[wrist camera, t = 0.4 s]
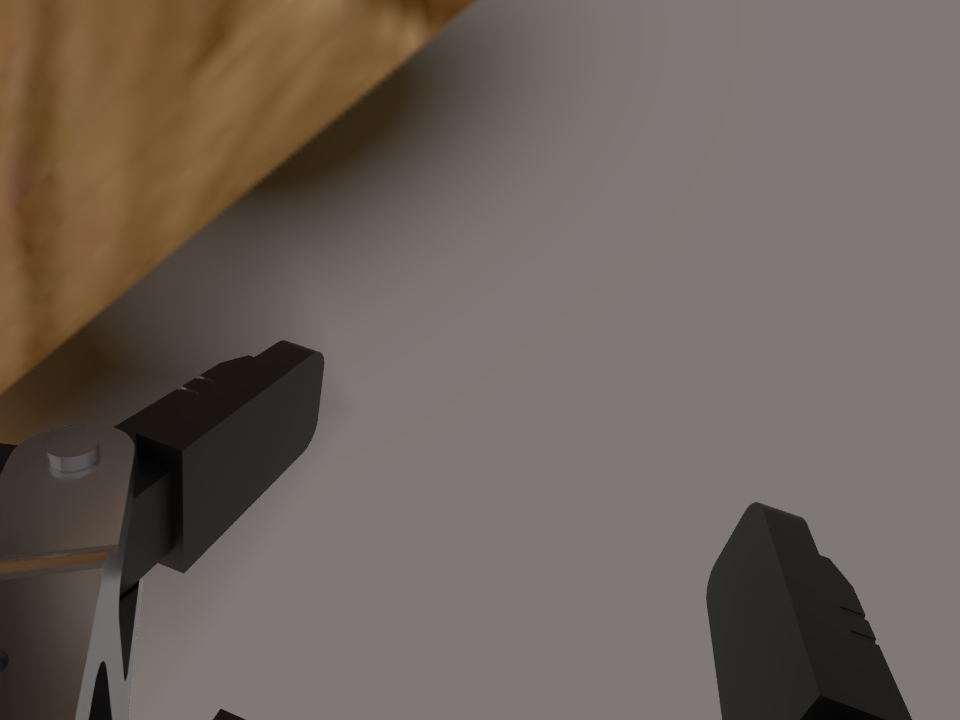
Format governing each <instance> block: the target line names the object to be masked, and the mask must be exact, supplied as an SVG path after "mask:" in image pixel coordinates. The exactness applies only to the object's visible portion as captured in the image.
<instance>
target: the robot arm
mask: <svg viewBox="0 0 960 720" xmlns="http://www.w3.org/2000/svg"><path fill="white" fill-rule="evenodd" d="M323 369H324V357H323V355H322V354H321V353H320V352H317V351H315V350H311V349H309V348H306V347H303V346H300V345H297V344H294V343H291V342H288V341H285V340H283V341H280V342H278V343H276V344H275V345H273V346H271V347H270V348H268V349H267V350H265V351H264V352H262V353H261V354H259V355H257V356H256V357H252V356H249V355H248V356H245V357H241V358H237V359H234V360H229V361H226V362H222V363H219V364H218V365H216V366H214V367H213V368H211V369H209V370H208V371H206V372H205V373H203V374H201V375H200V376H199V378H198V379H196V378H195V379H193V380H191V381H190V382H188V383H186V384H185V385H183V386H182V387H181V389H180V390H178V389H176V390H175V391H173V392H171V393H170V394H168V395H166V396H165V397H163V398H161V399H160V400H158V401H156V402H155V403H153V404H151V405H150V406H148V407H146V408H145V409H143V410H141V411H140V412H138V413H136V414H135V415H133V416H131V417H130V418H128V419H126V420H125V421H123V422H121V423H120V424H118V425H116V426H115V427H111V426H106V425H100V424H73V425H67V426H61V427H57V428H52V429H49V430H46V431H43V432H40V433H38V434H36V435H34V436H32V437H30V438H28V439H26V440H25V441H23V442H22V443H21V444H19V445H11V444H2V443H0V720H129V703H130V692H131V684H132V675H133V667H134V658H135V650H136V641H137V633H138V624H139V615H140V607H141V598H142V589H143V584H142V577H143V576H144V575H145V574H146V573H147V572H148V571H149V570H150V569H151V568H152V567H153V566H154V565H156V564H157V563H160V564H162V565H165V566H167V567H169V568H172V569H174V570H177V571H179V572H181V573H185V571H187V570H188V569H189V568H190V567H191V566H192V565H193V564H194V563H195V562H196V561H197V559H199V558H200V557H201V555H202V554H204V553H205V551H206V550H207V549H208V548H209V547H210V546H211V545H212V544H213V543H214V542H215V541H216V540H217V539H218V538H219V537H220V536H221V535H222V534H223V533H224V532H225V531H226V530H227V529H228V528H229V527H230V526H231V525H232V524H233V523H234V522H235V521H236V520H237V519H238V518H239V517H240V516H241V515H242V514H243V513H244V512H245V511H246V510H247V509H248V508H249V507H250V506H251V505H252V504H253V503H254V502H255V501H256V500H257V498H259V497H260V496H261V495H262V494H263V493H264V491H266V490H267V489H268V488H269V486H271V485H272V483H273V482H275V481H276V479H278V477H279V476H280V475H281V474H282V473H283V472H284V471H285V470H286V469H287V468H288V467H289V466H290V465H291V464H292V463H293V462H294V461H295V460H296V459H297V458H298V457H299V456H300V455H301V454H302V453H303V452H304V451H305V449H306V448H307V447H308V445H309V443H310V441H311V439H312V437H313V435H314V432H315V429H316V426H317V421H318V413H319V404H320V395H321V387H322V379H323ZM706 597H707V598H706V599H707V609H708V616H709V624H710V630H711V639H712V646H713V654H714V661H715V668H716V676H717V683H718V690H719V697H720V706H721V713H722V720H912V719H911V716H910V714H909V712H908V710H907V707H906V706H905V703H904V701H903V698H902V696H901V694H900V692H899V689H898V687H897V685H896V683H895V680H894V678H893V676H892V674H891V671H890V670H889V667H888V665H887V662H886V660H885V658H884V656H883V653H882V651H881V649H880V647H879V645H876V644H875V640H876V638H875V636H874V634H873V631H872V629H871V627H870V624H869V622H868V621H867V620H865V619H864V617H865V613H864V611H863V609H862V606H861V604H860V602H859V600H858V597H857V595H856V593H855V591H854V588H853V586H852V585H851V584H850V583H849V582H848V581H847V579H846V578H845V577H844V576H843V574H842V573H841V572H840V571H839V570H838V568H837V567H836V566H835V565H834V564H833V563H832V561H831V560H830V559H829V558H826V557H824V556H821V555H819V553H818V550H817V548H816V545H815V543H814V540H813V538H812V536H811V533H810V530H809V528H808V525H807V523H806V521H805V520H804V519H803V518H802V517H799V516H796V515H793V514H790V513H787V512H785V511H782V510H779V509H776V508H773V507H770V506H767V505H764V504H761V503H758V502H755V503H753V504H751V505H750V506H749V507H748V508H747V509H746V511H745V513H744V514H743V516H742V518H741V519H740V521H739V523H738V524H737V526H736V528H735V530H734V531H733V533H732V535H731V537H730V538H729V540H728V542H727V544H726V545H725V547H724V549H723V551H722V552H721V554H720V556H719V557H718V559H717V561H716V563H715V565H714V567H713V569H712V571H711V574H710V578H709V581H708V586H707V596H706ZM213 720H245V719H243V718H240V717H238V716H236V715H234V714H231V713H229V712H227V711H225V710H222V709H220V710H219V712H218V713H217V715H216V716H215V718H214V719H213Z"/></svg>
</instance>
